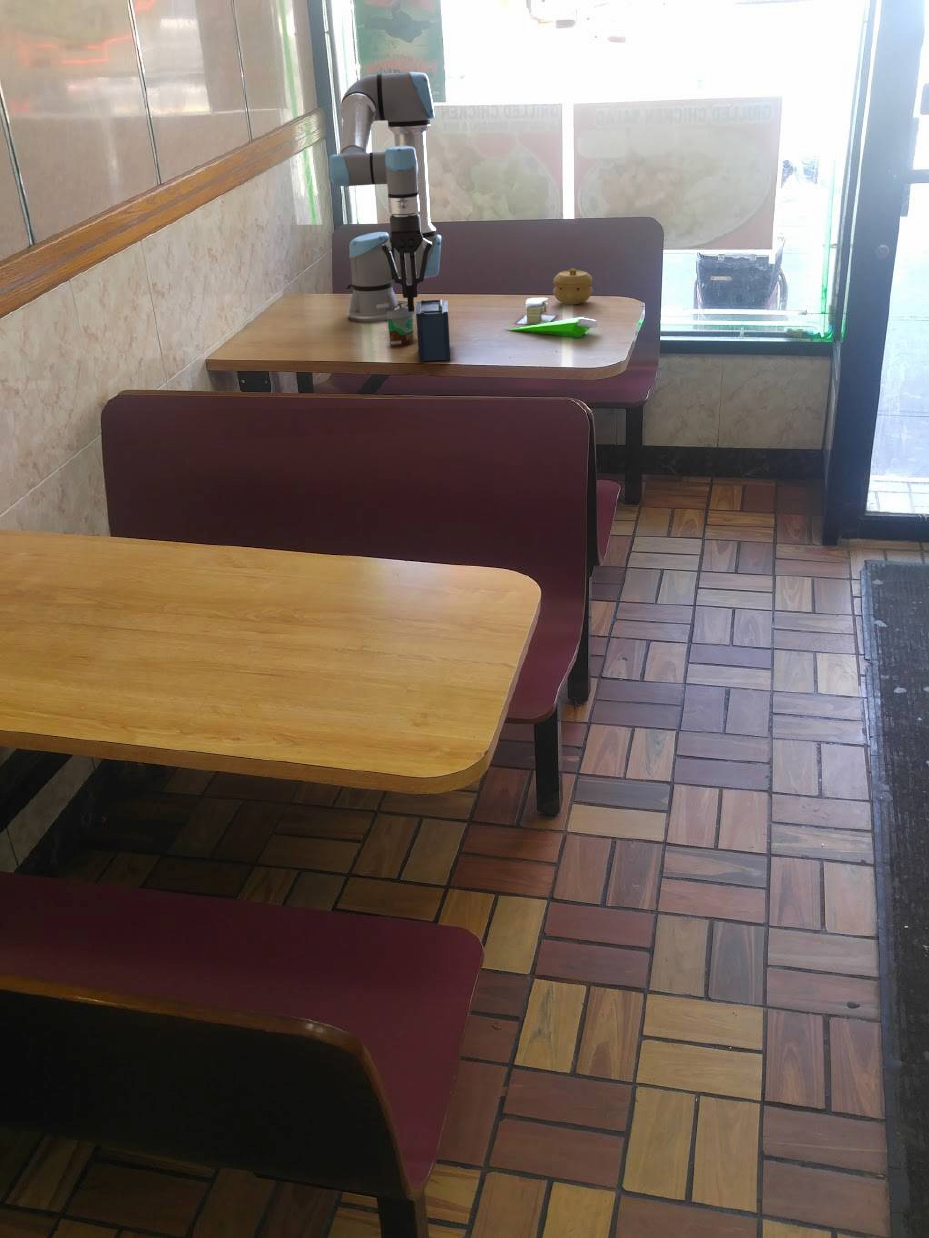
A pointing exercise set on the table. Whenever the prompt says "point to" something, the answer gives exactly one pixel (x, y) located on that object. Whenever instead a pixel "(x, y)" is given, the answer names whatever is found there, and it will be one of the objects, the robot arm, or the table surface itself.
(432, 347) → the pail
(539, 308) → the stacked layers on plate
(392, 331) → the food container
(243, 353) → the table surface
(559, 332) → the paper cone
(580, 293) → the pot
